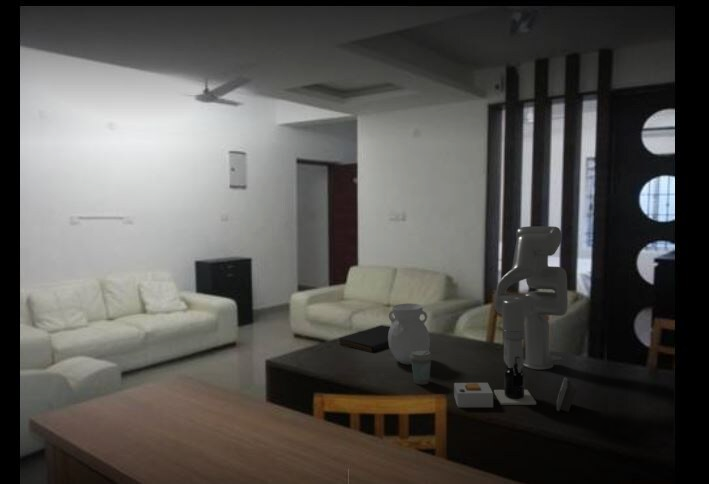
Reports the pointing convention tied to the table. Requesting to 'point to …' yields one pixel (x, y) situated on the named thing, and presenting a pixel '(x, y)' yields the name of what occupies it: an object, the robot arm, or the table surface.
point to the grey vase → (407, 331)
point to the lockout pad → (510, 401)
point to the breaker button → (472, 386)
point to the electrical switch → (565, 395)
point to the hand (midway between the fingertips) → (514, 380)
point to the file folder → (368, 339)
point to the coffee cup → (421, 366)
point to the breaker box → (473, 396)
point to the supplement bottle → (509, 389)
